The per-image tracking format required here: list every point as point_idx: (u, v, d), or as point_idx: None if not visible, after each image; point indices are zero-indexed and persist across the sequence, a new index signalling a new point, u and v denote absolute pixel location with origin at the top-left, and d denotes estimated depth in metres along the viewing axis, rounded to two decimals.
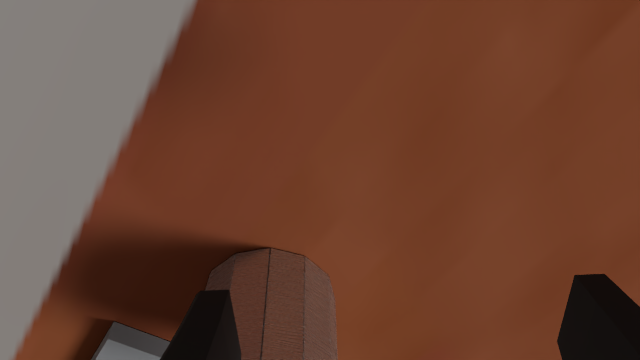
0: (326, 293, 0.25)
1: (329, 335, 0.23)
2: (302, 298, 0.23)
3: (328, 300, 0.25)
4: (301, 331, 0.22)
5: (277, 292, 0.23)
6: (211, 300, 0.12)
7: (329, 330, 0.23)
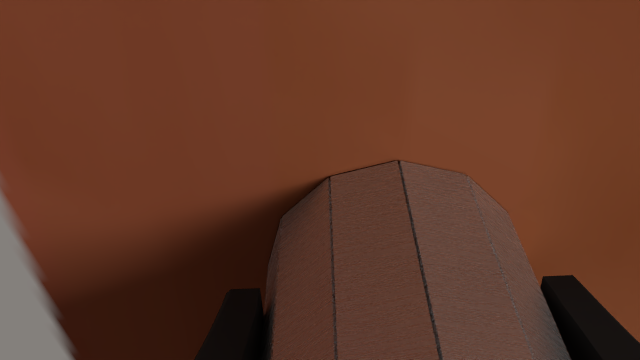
0: (472, 207, 0.12)
1: (505, 286, 0.10)
2: (411, 236, 0.11)
3: (480, 218, 0.11)
4: (428, 306, 0.09)
5: (354, 248, 0.11)
6: (243, 298, 0.12)
7: (501, 275, 0.10)
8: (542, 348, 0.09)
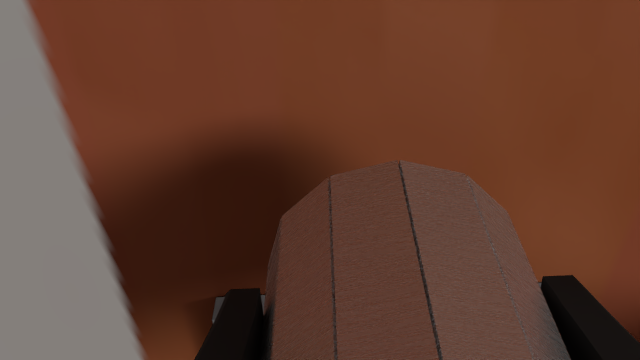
0: (472, 206, 0.12)
1: (504, 285, 0.10)
2: (411, 236, 0.11)
3: (480, 217, 0.11)
4: (427, 305, 0.09)
5: (354, 247, 0.11)
6: (243, 298, 0.12)
7: (501, 275, 0.10)
8: (541, 347, 0.09)
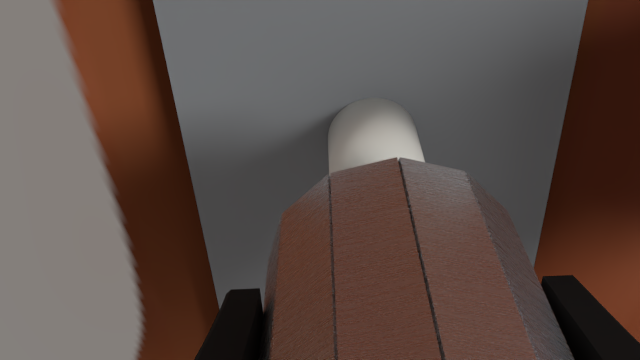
0: (472, 202, 0.12)
1: (504, 278, 0.10)
2: (411, 229, 0.11)
3: (479, 213, 0.11)
4: (427, 296, 0.09)
5: (354, 241, 0.11)
6: (243, 298, 0.12)
7: (501, 268, 0.10)
8: (542, 339, 0.09)
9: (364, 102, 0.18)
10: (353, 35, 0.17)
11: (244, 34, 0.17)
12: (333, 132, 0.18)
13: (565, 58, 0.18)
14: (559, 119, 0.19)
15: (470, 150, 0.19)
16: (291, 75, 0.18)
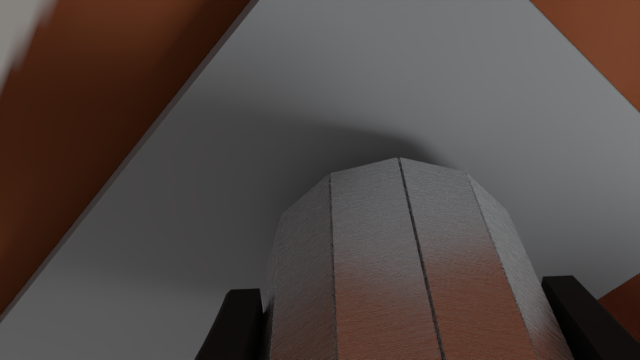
0: (471, 203, 0.12)
1: (504, 279, 0.10)
2: (411, 230, 0.11)
3: (479, 213, 0.11)
4: (428, 297, 0.09)
5: (354, 241, 0.11)
6: (243, 298, 0.12)
7: (501, 268, 0.10)
8: (542, 339, 0.09)
9: None
10: (479, 132, 0.13)
11: (384, 39, 0.12)
12: None
13: (601, 287, 0.16)
14: None
15: None
16: (382, 118, 0.13)
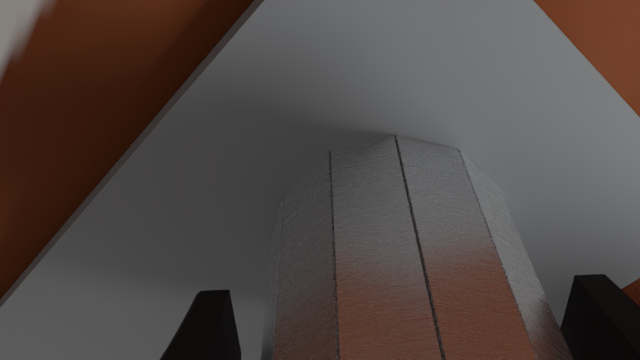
0: (463, 177, 0.12)
1: (492, 245, 0.11)
2: (406, 201, 0.11)
3: (470, 186, 0.12)
4: (420, 261, 0.10)
5: (353, 212, 0.11)
6: (212, 300, 0.12)
7: (489, 236, 0.11)
8: (525, 300, 0.10)
9: None
10: (482, 136, 0.13)
11: (391, 39, 0.12)
12: None
13: None
14: None
15: None
16: (386, 120, 0.13)
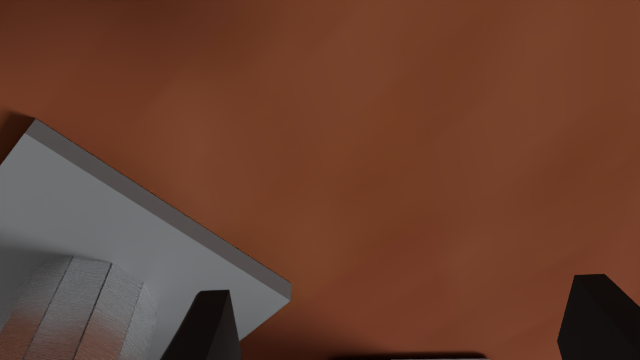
0: (99, 283, 0.23)
1: (84, 326, 0.21)
2: (50, 301, 0.22)
3: (100, 289, 0.23)
4: (35, 336, 0.20)
5: (24, 305, 0.22)
6: (212, 300, 0.12)
7: (87, 321, 0.21)
8: (87, 355, 0.20)
9: None
10: (122, 256, 0.24)
11: (53, 211, 0.22)
12: None
13: None
14: None
15: None
16: (65, 248, 0.23)
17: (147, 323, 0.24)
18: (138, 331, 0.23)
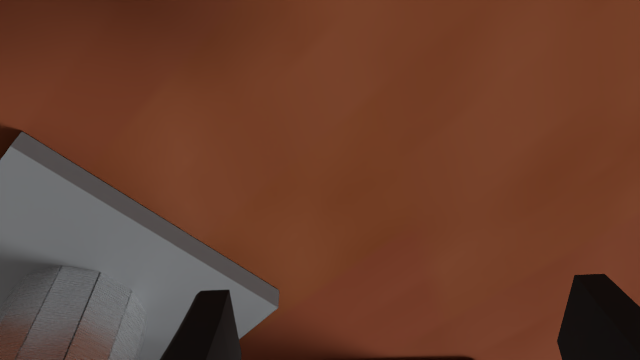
0: (87, 292, 0.23)
1: (71, 336, 0.21)
2: (38, 311, 0.22)
3: (88, 298, 0.23)
4: (23, 346, 0.21)
5: (12, 316, 0.22)
6: (211, 299, 0.12)
7: (74, 330, 0.22)
8: None
9: None
10: (110, 265, 0.24)
11: (41, 222, 0.23)
12: None
13: None
14: None
15: None
16: (54, 258, 0.24)
17: (136, 331, 0.24)
18: (126, 339, 0.23)
